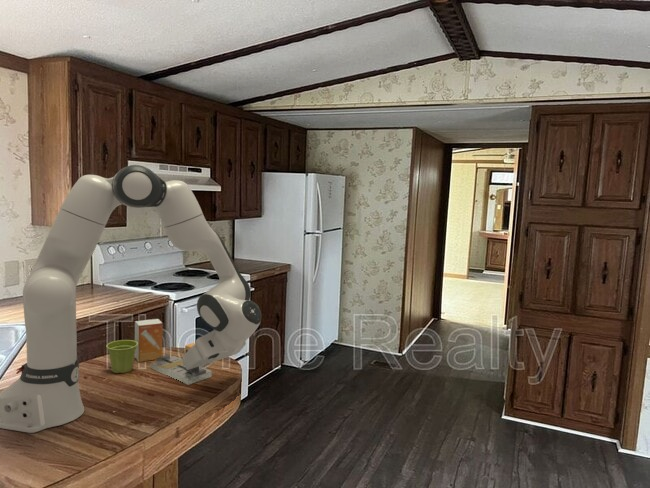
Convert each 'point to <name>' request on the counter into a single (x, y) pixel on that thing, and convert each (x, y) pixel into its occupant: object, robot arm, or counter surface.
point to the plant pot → (122, 355)
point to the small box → (148, 339)
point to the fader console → (179, 370)
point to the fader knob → (186, 352)
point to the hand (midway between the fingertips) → (203, 364)
